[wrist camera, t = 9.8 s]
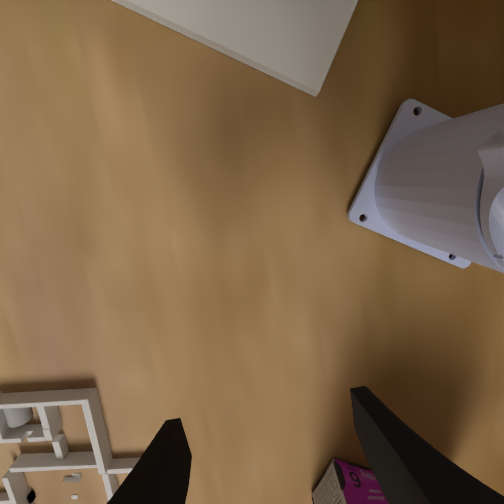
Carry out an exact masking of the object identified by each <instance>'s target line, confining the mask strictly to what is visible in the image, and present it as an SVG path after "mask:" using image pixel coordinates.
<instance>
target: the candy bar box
mask: <svg viewBox="0 0 504 504" xmlns="http://www.w3.org/2000/svg"><path fill="white" fill-rule="evenodd" d="M312 501H313V504H388V502H387V500H386V498H385V496H384V493H383V491H382V489H381V487H380V485H379V483H378V481H377V479H376V477H375V475H374V473H373V471H372V470H370V469H367V468H363V467H360V466H357V465H353V464H350V463H347V462H344V461H341V460H337V459H332V461H331V462H330V463H329V465H328V466H327V468H326V471H325V473H324V474H323V476H322V478H321V479H320V481H319V483H318V484H317V486H316V487H315V489H314V491H313V493H312Z"/></svg>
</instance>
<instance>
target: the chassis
mask: <svg viewBox="0 0 504 504" xmlns="http://www.w3.org/2000/svg"><path fill="white" fill-rule="evenodd" d="M111 1H113V2H115V3H118V4H120V5H122V6H124V7H126V8H128V9H130V10H132V11H134V12H137V13H139V14H141V15H143V16H145V17H147V18H149V19H151V20H153V21H156V22H158V23H160V24H162V25H164V26H166V27H168V28H170V29H173V30H175V31H177V32H179V33H181V34H183V35H185V36H187V37H189V38H192V39H194V40H196V41H198V42H200V43H202V44H204V45H206V46H208V47H211V48H213V49H215V50H217V51H219V52H221V53H223V54H225V55H227V56H230V57H232V58H234V59H236V60H238V61H240V62H242V63H244V64H247V65H249V66H251V67H253V68H255V69H257V70H259V71H261V72H263V73H266V74H268V75H270V76H272V77H274V78H276V79H278V80H280V81H282V82H285V83H287V84H289V85H291V86H293V87H295V88H297V89H299V90H301V91H304V92H306V93H308V94H310V95H312V96H314V97H316V96H317V94H318V93H319V92H320V90H321V87H322V85H323V82H324V80H325V78H326V75H327V73H328V71H329V68H330V66H331V64H332V61H333V59H334V57H335V54H336V52H337V49H338V47H339V45H340V42H341V40H342V38H343V35H344V33H345V31H346V28H347V26H348V23H349V21H350V19H351V16H352V14H353V12H354V9H355V7H356V5H357V2H358V0H111Z"/></svg>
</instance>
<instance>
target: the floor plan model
mask: <svg viewBox="0 0 504 504" xmlns="http://www.w3.org/2000/svg"><path fill="white" fill-rule="evenodd" d="M77 404H82V408H83V412H84V416H85V420H86V424H87V428H88V432H89V436H90V440H91V444H92V448H93V451H85V452H68V451H69V450H68V446H67V442H66V439H65V435H64V434H58V432H59V431H60V430H61V428H62V427H63V425H62V422H61V418H60V414H59V410H58V406H59V405H77ZM31 407H37V410H38V414H39V417H40V420H41V424H30V425H23V424H25V423H27V422H28V421H29V420H30V419H31V418H32V417H33V413H32V410H31ZM57 434H58V435H57ZM27 435H29V437H28V438H27V439H28V442H36V441H46V440H53V439H54V438H55V439H54V440H53V441H52V445H53V448H54V451H55V453H30V454H20V455H19V457H18V458H17V459H16V460H15V461H14V463H13V464H12V465H11V466H10V468H9V470H8V471H7V473H6V474H5V475H4V476H3V478H2V480H3V483H4V486H5V488H6V491H7V492H2V493H0V504H33V500H34V499H35V497H36V496H35V493H34V491H31V492H29V489H28V486H27V483H26V480H25V477H24V474H23V472H28V471H45V470H62V469H80V468H98V473H99V474H102V477H103V481H104V486H105V490H106V494H107V498H108V501H109V500H110V499H111V497H112V496H113V495H114V493H115V492H116V491H117V489H118V483H117V479H116V474H118V473H130V472H131V471H132V469H133V468H134V466H135V465H136V463H137V462H138V461H139V459H140V458H141V457H138V458H120V459H113V458H112V453H111V449H110V445H109V440H108V436H107V432H106V427H105V423H104V418H103V414H102V410H101V405H100V401H99V397H98V392H97V388H96V387H95V388H84V389H67V390H49V391H31V392H13V393H2V391H0V444H2V443H16V442H22V441H23V440H24V439H25V438H26V436H27ZM56 435H57V436H56ZM55 436H56V437H55ZM71 475H72V476H73V477H64V479H63V481H65V482H79V480H80V479H81V478H82V476H81V473H75V474H71ZM71 498H72V499H78V495H71Z"/></svg>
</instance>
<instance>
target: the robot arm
mask: <svg viewBox="0 0 504 504" xmlns="http://www.w3.org/2000/svg"><path fill="white" fill-rule="evenodd" d="M414 108H416V109H417V110H418V115H417V116H415V115H414V113H413V111H414ZM362 214H364V216H365V218H364V220H363V221H360V220H359V217H360V215H362ZM347 218H348V219H349V220H350V221H351V222H354V223H356V224H358V225H361V226H363V227H365V228H368V229H370V230H372V231H375V232H377V233H380V234H382V235H384V236H387V237H389V238H391V239H394V240H396V241H398V242H401V243H403V244H405V245H408V246H410V247H412V248H415V249H417V250H420V251H422V252H424V253H427V254H429V255H431V256H434V257H436V258H438V259H441V260H443V261H445V262H448V263H450V264H452V265H455V266H457V267H460V268H466V267H468V266H469V265H470V264H471V262H474V263H477V264H480V265H483V266H486V267H488V268H491V269H494V270H497V271H499V272H502V273H504V103H503V104H500V105H496V106H493V107H490V108H486V109H483V110H480V111H476V112H473V113H470V114H466V115H463V116H460V117H456V118H451V117H449V116H447V115H445V114H443V113H441V112H439V111H437V110H435V109H433V108H431V107H429V106H427V105H425V104H423V103H421V102H419V101H417V100H415V99H408V100H406V101H404V102H403V103H402V104H401V105H400V107H399V109H398V111H397V113H396V115H395V117H394V119H393V121H392V123H391V125H390V127H389V129H388V131H387V134H386V136H385V138H384V140H383V142H382V144H381V146H380V148H379V150H378V152H377V154H376V156H375V158H374V160H373V162H372V164H371V166H370V168H369V170H368V172H367V174H366V176H365V178H364V180H363V182H362V184H361V186H360V188H359V190H358V192H357V194H356V196H355V198H354V200H353V202H352V205H351V207H350V209H349V211H348V213H347ZM450 254H452V257H451V258H449V255H450ZM350 391H351V400H352V408H353V417H354V425H355V430H356V432H357V435H358V438H359V441H360V443H361V446H362V449H363V451H364V454H365V456H366V458H367V461H368V463H369V465H370V467H371V469H372V471H373V473H374V475H375V477H376V479H377V481H378V483H379V485H380V487H381V489H382V491H383V493H384V496H385V498H386V500H387V502H388V504H504V496H502V495H501V494H499V493H498V492H496V491H494V490H493V489H491V488H490V487H488V486H486V485H485V484H483V483H482V482H480V481H479V480H477V479H476V478H474V477H473V476H472V475H470V474H469V473H467V472H466V471H464V470H463V469H461V468H460V467H459V466H457V465H456V464H455V463H453V462H452V461H450V460H449V459H448V458H446V457H445V456H444V455H442V454H441V453H440V452H439V451H437V450H436V449H435V448H433V447H432V446H431V445H430V444H428V443H427V442H426V441H425V440H424V439H422V438H421V437H420V436H419V435H418V434H416V433H415V432H414V431H413V430H412V429H411V428H409V427H408V426H407V425H406V424H405V423H404V422H403V421H401V420H400V419H399V418H398V417H397V416H396V415H395V414H394V413H393V412H392V411H391V410H389V409H388V408H387V407H386V406H385V405H384V404H383V403H382V402H381V401H380V400H379V399H378V398H377V397H376V396H375V395H374V394H373V393H372V392H371V391H370V390H369V389H368V388H367V387H366V386H362V387H356V388H350ZM191 459H192V455H191V451H190V448H189V445H188V442H187V438H186V435H185V432H184V429H183V426H182V422H181V419H180V418H177V419H171V420H166V421H165V423H164V424H163V425H162V427H161V428H160V430H159V431H158V433H157V434H156V436H155V437H154V439H153V440H152V442H151V443H150V445H149V446H148V448H147V449H146V450H145V452H144V453H143V455H142V456H141V458H140V459H139V461H138V462H137V463H136V465H135V466H134V468H133V469H132V471H131V472H130V473H129V475H128V476H127V477H126V479H125V480H124V481H123V483H122V484H121V485H120V487H119V488H118V489H117V491H116V492H115V493H114V495H113V496H112V497H111V499H110V500H109V501H108V502H107V504H185V501H186V496H187V491H188V486H189V478H190V470H191Z"/></svg>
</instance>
